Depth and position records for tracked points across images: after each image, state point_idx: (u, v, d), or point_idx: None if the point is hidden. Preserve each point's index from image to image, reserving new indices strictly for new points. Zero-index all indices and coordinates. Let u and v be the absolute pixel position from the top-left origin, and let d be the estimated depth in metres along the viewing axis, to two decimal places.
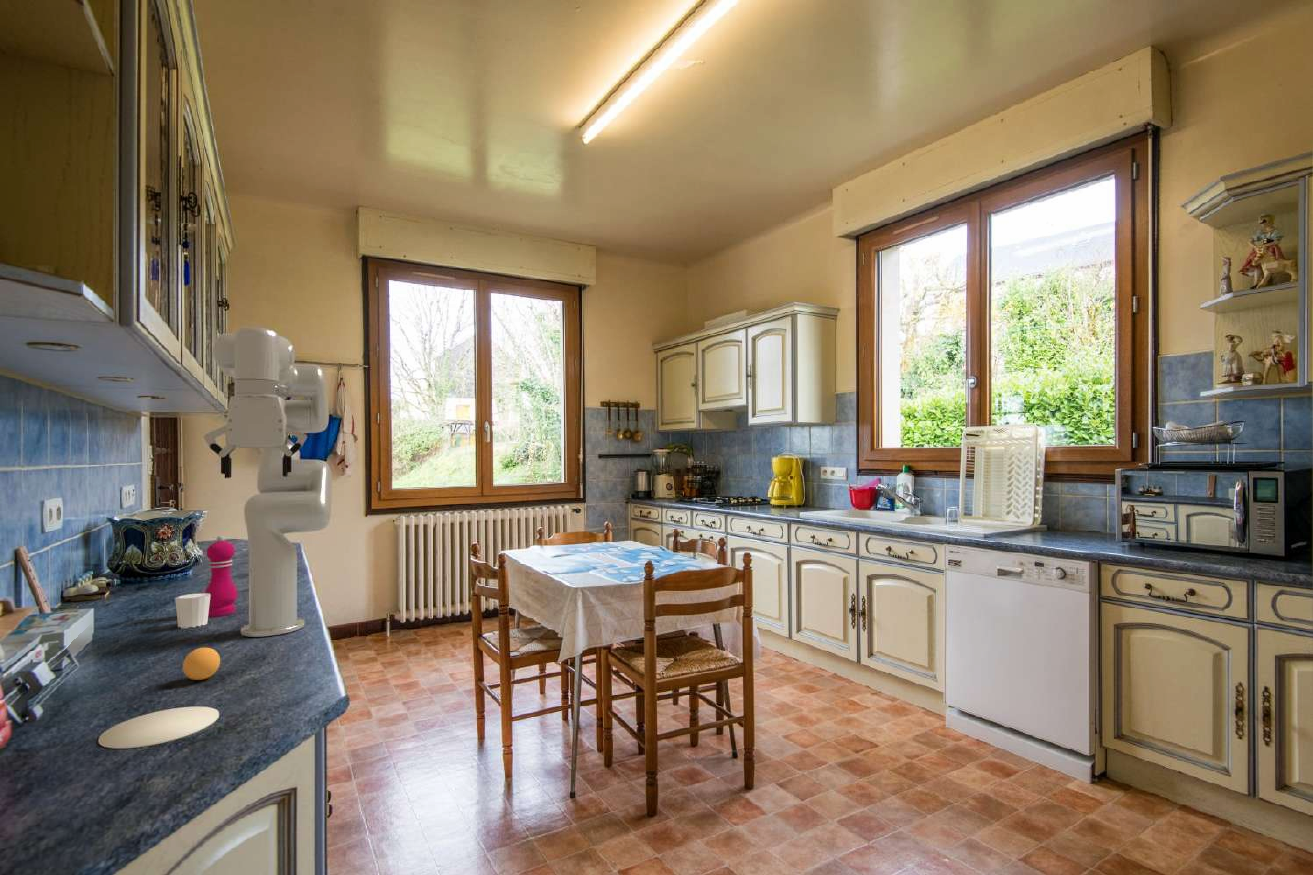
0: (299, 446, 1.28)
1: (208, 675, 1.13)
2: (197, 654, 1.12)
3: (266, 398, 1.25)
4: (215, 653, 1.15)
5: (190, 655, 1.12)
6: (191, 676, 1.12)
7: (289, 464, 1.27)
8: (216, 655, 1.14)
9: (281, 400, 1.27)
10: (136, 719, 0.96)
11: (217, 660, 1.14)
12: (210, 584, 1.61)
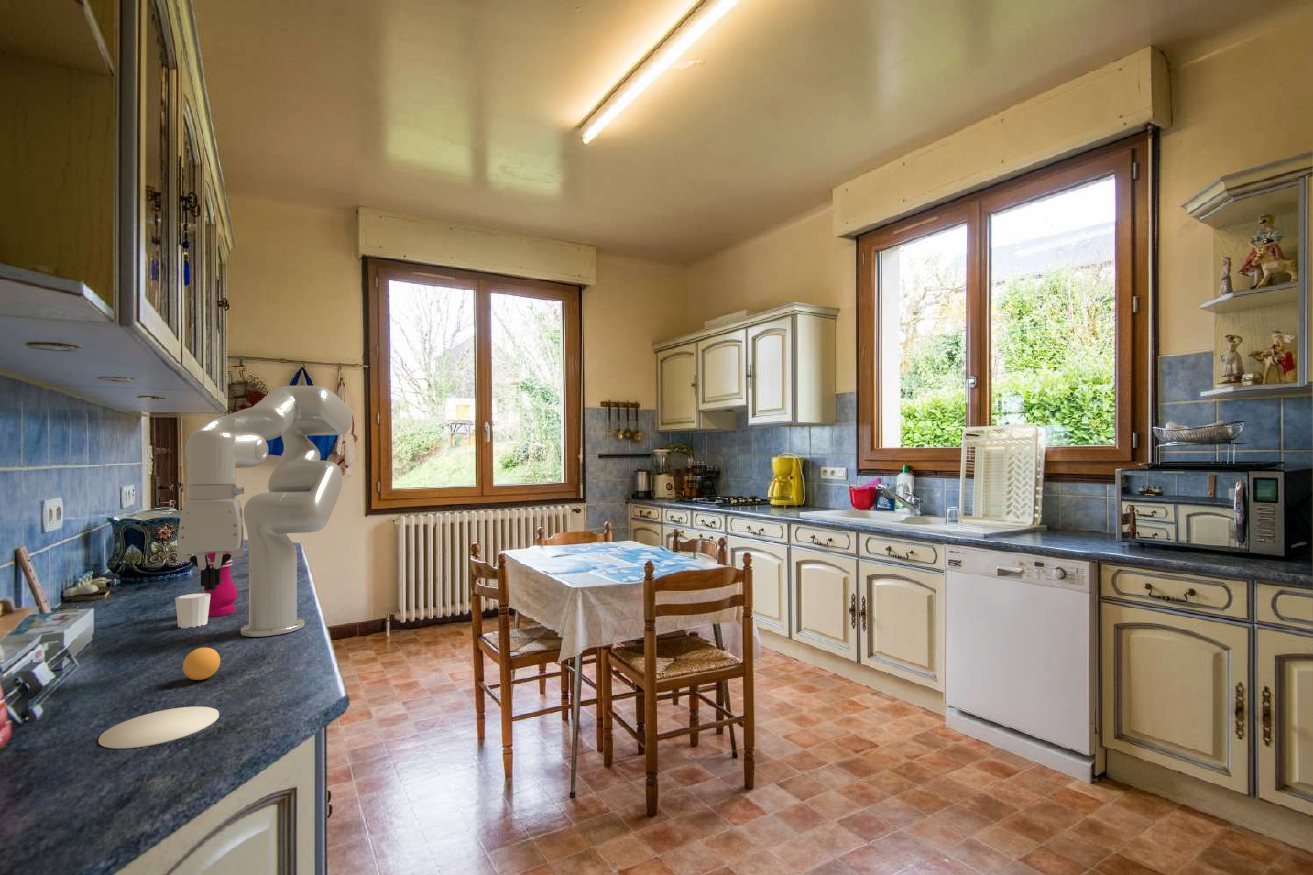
0: (228, 557, 1.23)
1: (208, 675, 1.13)
2: (197, 654, 1.12)
3: (220, 503, 1.22)
4: (215, 653, 1.15)
5: (190, 655, 1.12)
6: (191, 676, 1.12)
7: (217, 577, 1.22)
8: (216, 655, 1.14)
9: (236, 503, 1.24)
10: (136, 719, 0.96)
11: (217, 660, 1.14)
12: None
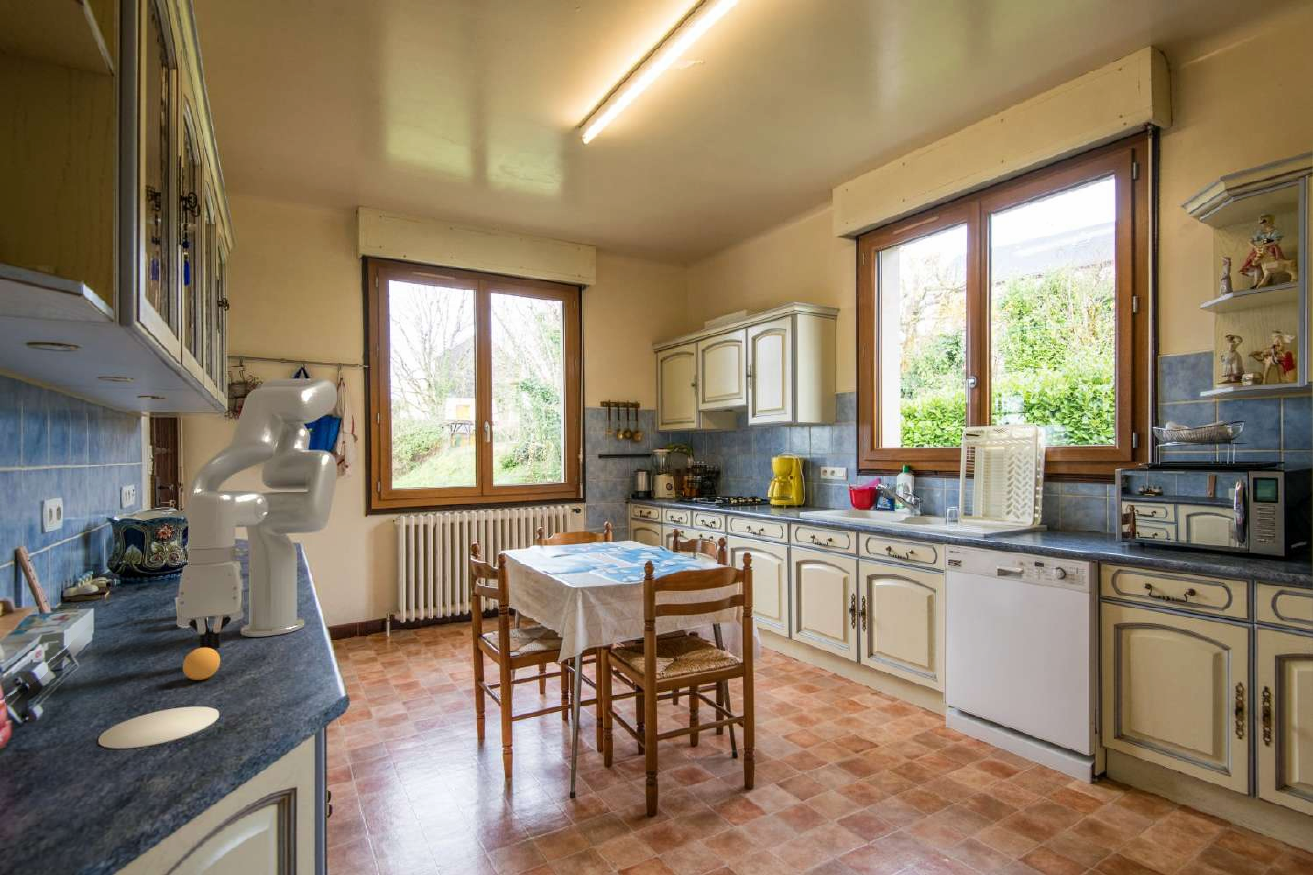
0: (228, 620, 1.23)
1: (208, 675, 1.13)
2: (197, 654, 1.12)
3: (220, 566, 1.21)
4: (215, 653, 1.15)
5: (190, 655, 1.12)
6: (191, 676, 1.12)
7: (217, 640, 1.22)
8: (216, 655, 1.14)
9: (236, 566, 1.24)
10: (136, 719, 0.96)
11: (217, 660, 1.14)
12: None
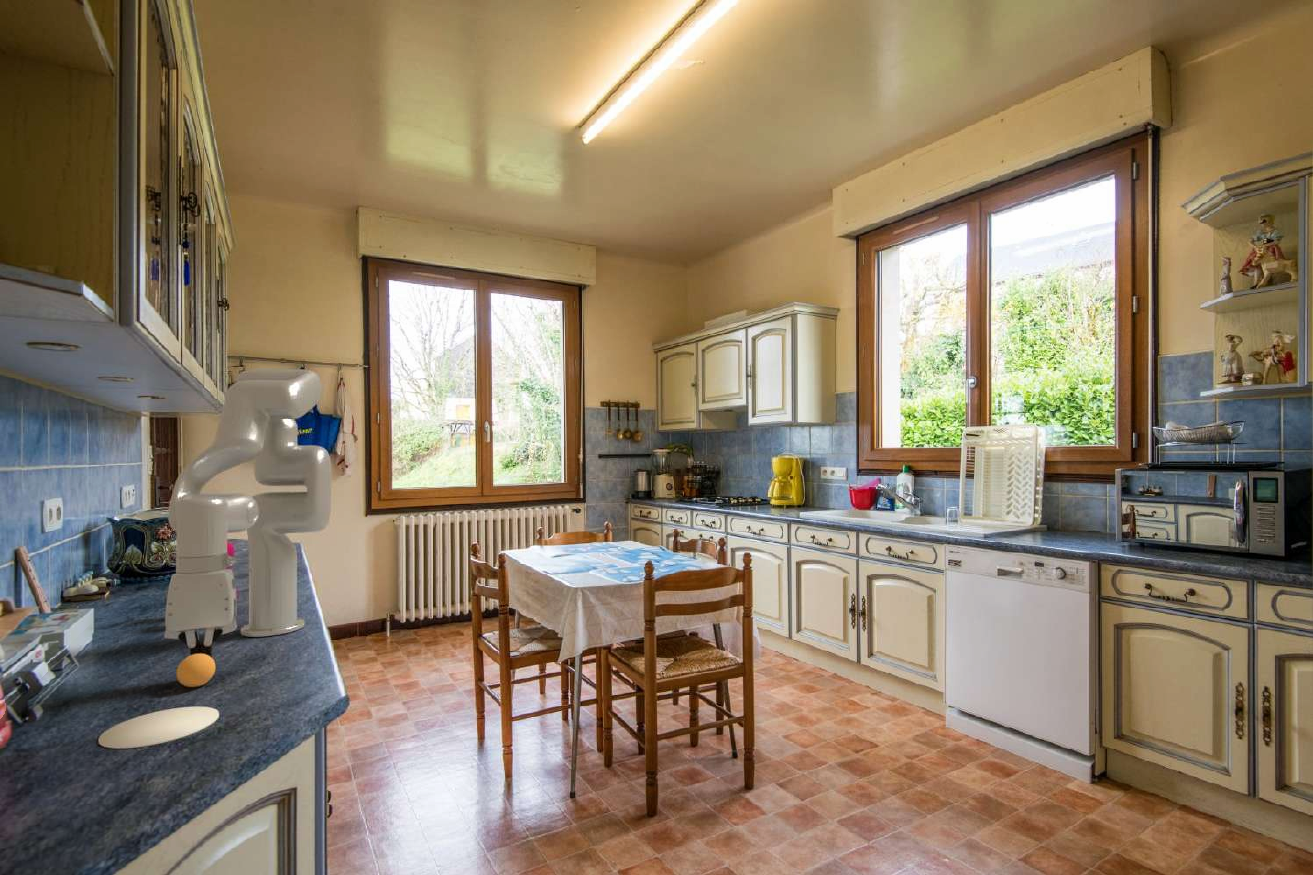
0: (220, 633, 1.15)
1: None
2: (190, 678, 1.08)
3: (211, 575, 1.14)
4: (208, 669, 1.10)
5: (182, 677, 1.08)
6: None
7: (208, 654, 1.14)
8: (210, 670, 1.10)
9: (228, 574, 1.16)
10: (136, 719, 0.96)
11: (212, 673, 1.11)
12: None
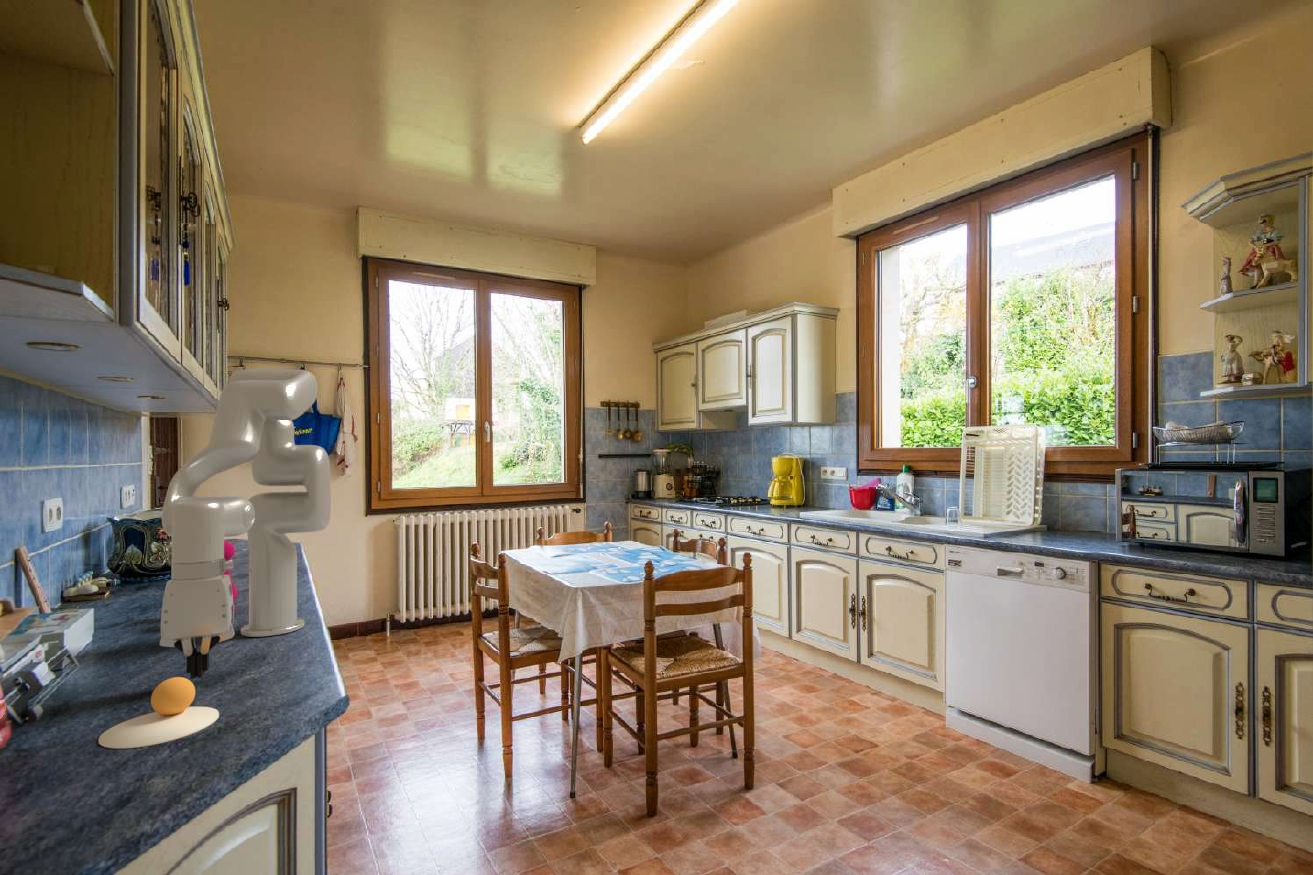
0: (217, 640, 1.12)
1: (179, 707, 0.97)
2: (170, 680, 0.98)
3: (207, 581, 1.10)
4: (190, 682, 0.99)
5: (161, 683, 0.98)
6: (159, 707, 0.96)
7: (205, 662, 1.11)
8: (191, 684, 0.99)
9: (225, 580, 1.12)
10: (136, 719, 0.96)
11: (191, 690, 0.99)
12: None
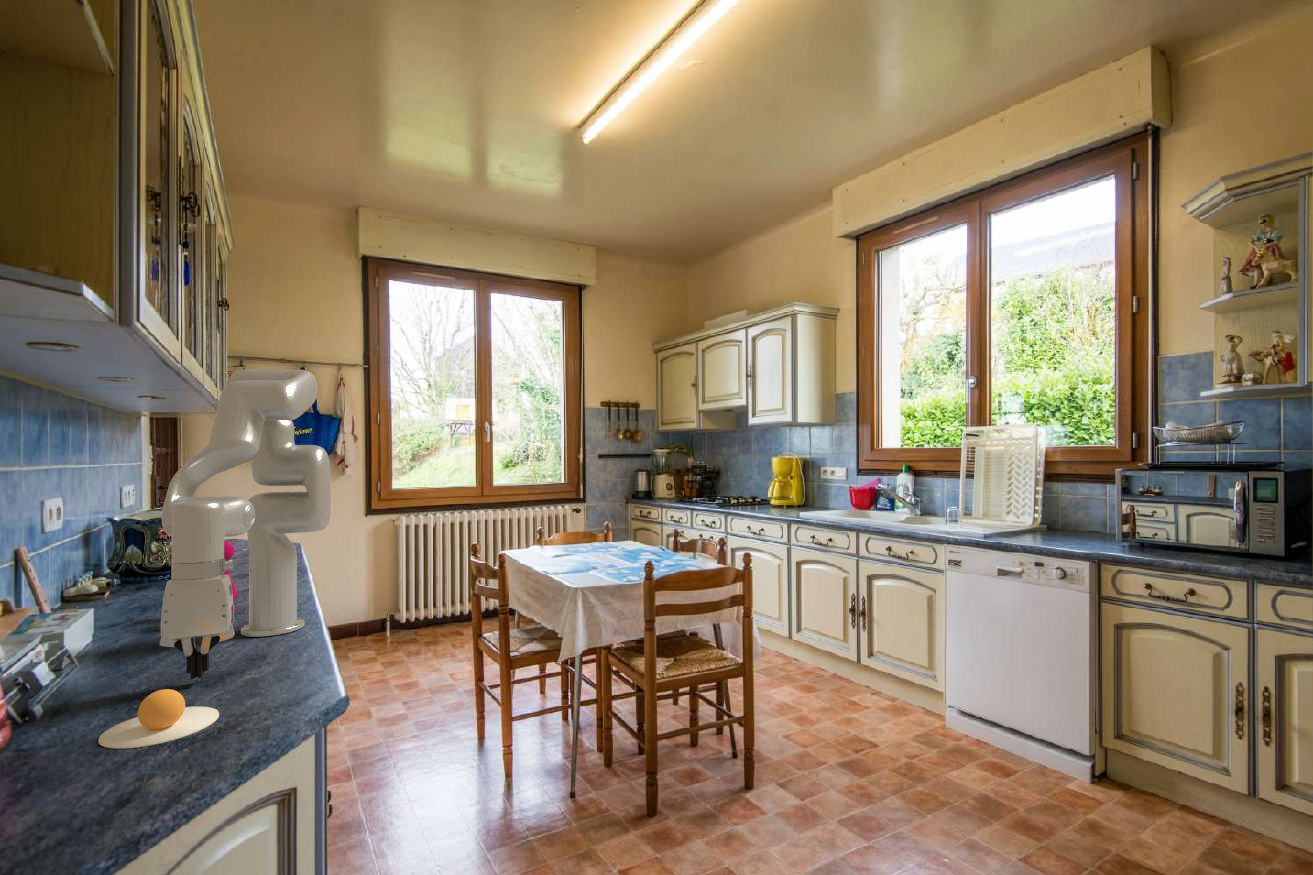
0: (217, 640, 1.12)
1: None
2: (155, 727, 0.91)
3: (207, 581, 1.10)
4: (176, 714, 0.93)
5: (146, 725, 0.91)
6: None
7: (205, 662, 1.11)
8: (179, 714, 0.93)
9: (225, 580, 1.12)
10: (136, 719, 0.96)
11: None
12: None
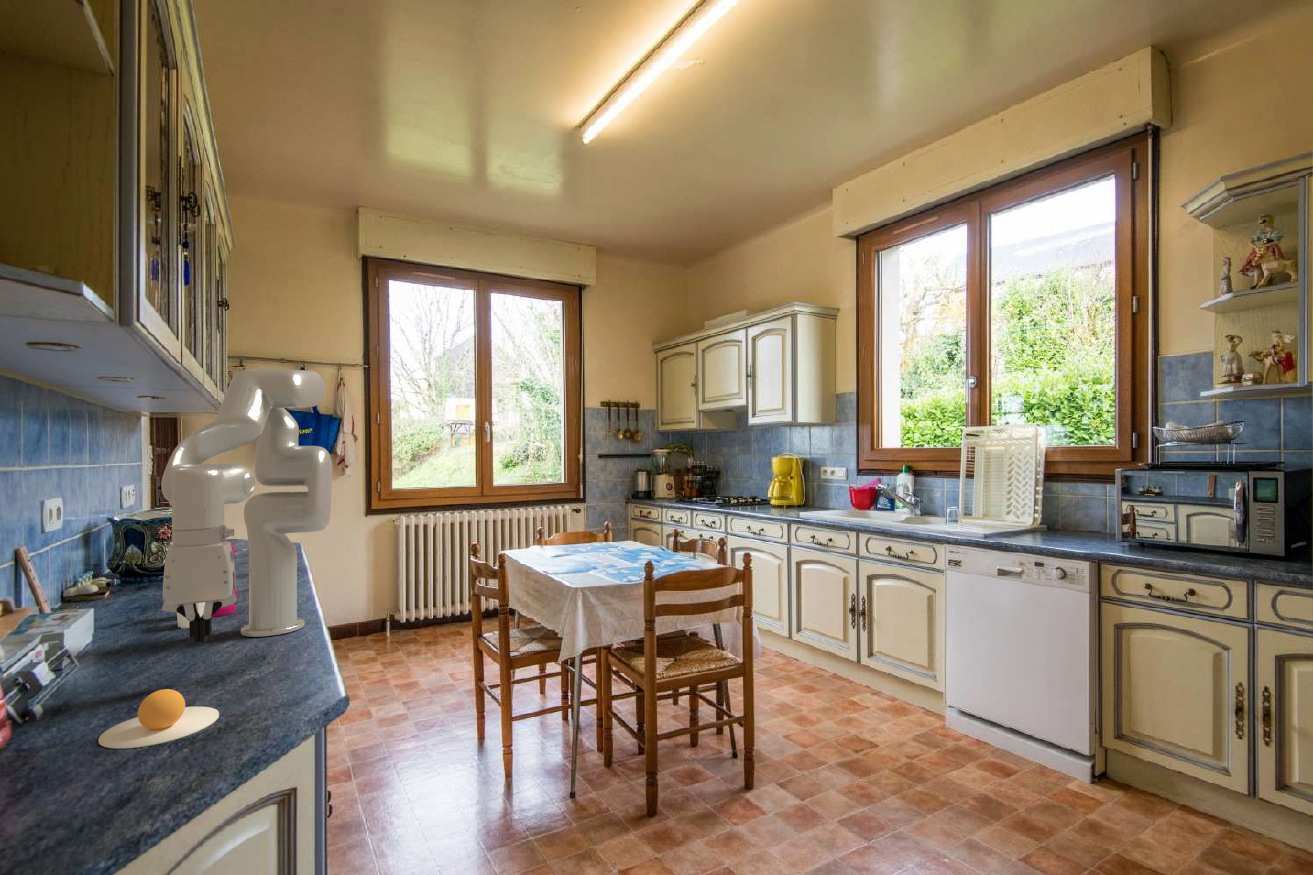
0: (219, 606, 1.13)
1: None
2: (155, 727, 0.91)
3: (208, 548, 1.11)
4: (176, 714, 0.93)
5: (146, 725, 0.91)
6: None
7: (208, 627, 1.12)
8: (179, 714, 0.93)
9: (226, 547, 1.13)
10: (136, 719, 0.96)
11: None
12: None
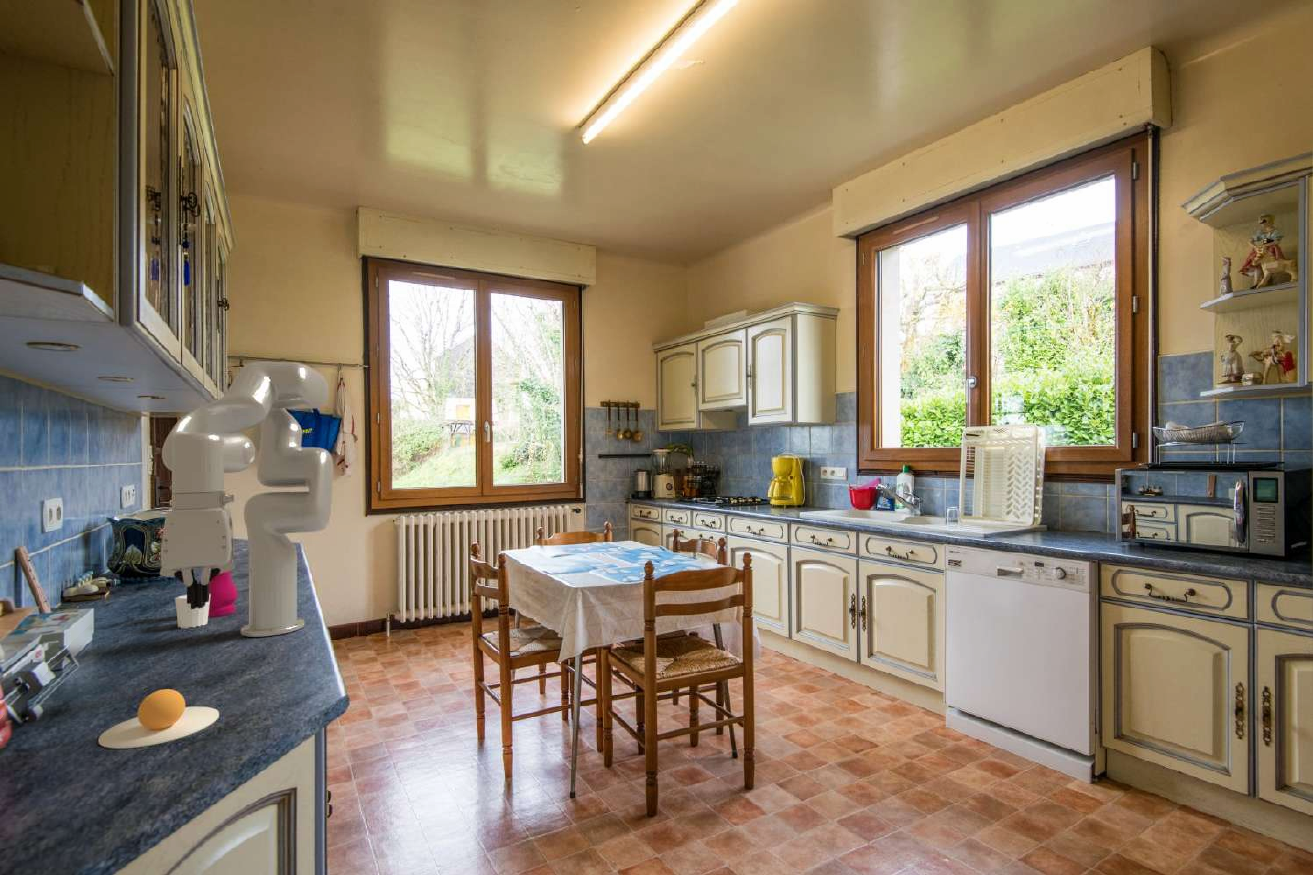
0: (217, 572, 1.12)
1: None
2: (155, 727, 0.91)
3: (207, 512, 1.11)
4: (176, 714, 0.93)
5: (146, 725, 0.91)
6: None
7: (205, 593, 1.11)
8: (179, 714, 0.93)
9: (225, 512, 1.13)
10: (136, 719, 0.96)
11: None
12: (210, 584, 1.61)
